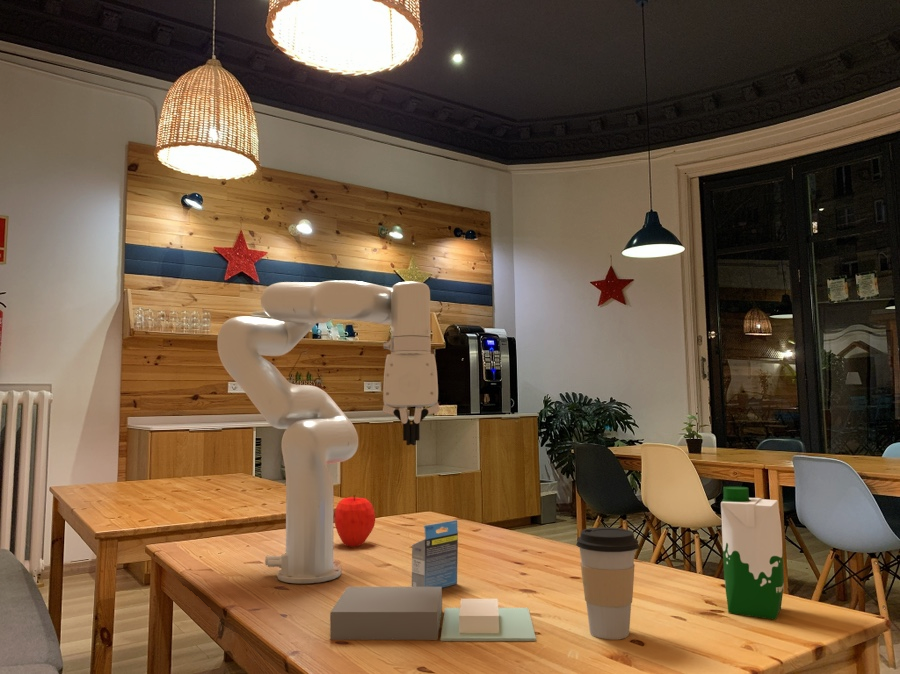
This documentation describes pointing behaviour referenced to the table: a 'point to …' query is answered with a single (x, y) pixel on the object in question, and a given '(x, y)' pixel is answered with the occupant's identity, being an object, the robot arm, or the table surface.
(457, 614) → the mat
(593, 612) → the coffee cup
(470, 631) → the tile
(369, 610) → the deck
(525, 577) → the table surface
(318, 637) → the table surface
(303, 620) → the table surface
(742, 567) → the milk carton
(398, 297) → the robot arm
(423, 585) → the label tape box
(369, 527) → the apple
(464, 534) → the table surface
